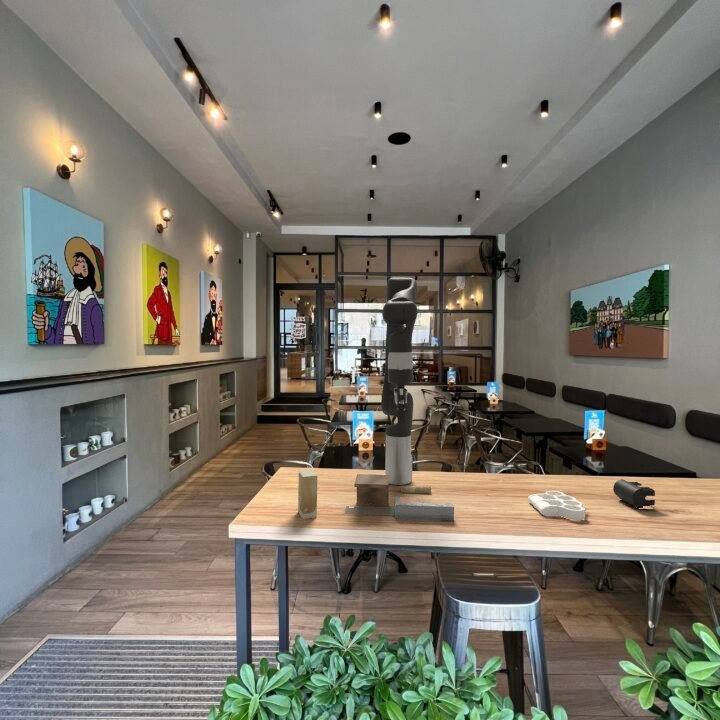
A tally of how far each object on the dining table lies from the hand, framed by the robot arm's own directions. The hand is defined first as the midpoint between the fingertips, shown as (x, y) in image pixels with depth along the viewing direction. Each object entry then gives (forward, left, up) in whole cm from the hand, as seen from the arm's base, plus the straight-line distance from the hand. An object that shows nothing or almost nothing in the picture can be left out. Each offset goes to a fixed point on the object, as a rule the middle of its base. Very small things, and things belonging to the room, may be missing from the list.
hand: (400, 420), depth 131 cm
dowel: (-14, -5, -25) cm, 29 cm away
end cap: (-56, +49, -27) cm, 79 cm away
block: (+2, +5, -27) cm, 27 cm away
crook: (0, +9, -27) cm, 28 cm away
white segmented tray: (-34, +34, -27) cm, 55 cm away
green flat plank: (+6, 0, -27) cm, 27 cm away
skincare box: (+25, -13, -27) cm, 39 cm away
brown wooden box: (+8, -4, -27) cm, 28 cm away
